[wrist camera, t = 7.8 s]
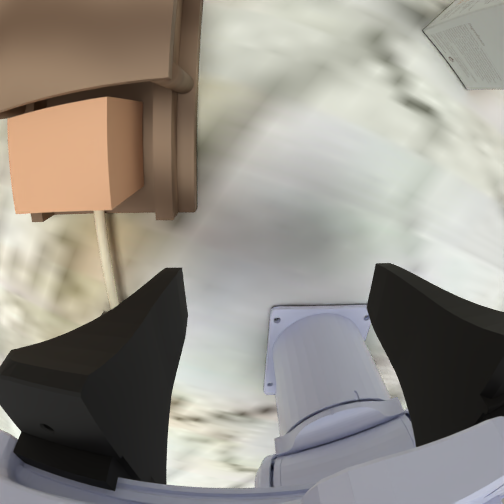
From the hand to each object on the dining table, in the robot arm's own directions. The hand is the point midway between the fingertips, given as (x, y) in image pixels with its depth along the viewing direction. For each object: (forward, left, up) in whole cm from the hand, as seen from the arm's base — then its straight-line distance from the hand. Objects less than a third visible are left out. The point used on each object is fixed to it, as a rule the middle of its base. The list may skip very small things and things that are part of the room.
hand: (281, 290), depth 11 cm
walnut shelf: (+7, +10, -9) cm, 16 cm away
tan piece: (-1, +10, -8) cm, 13 cm away
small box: (+15, -15, -9) cm, 23 cm away
